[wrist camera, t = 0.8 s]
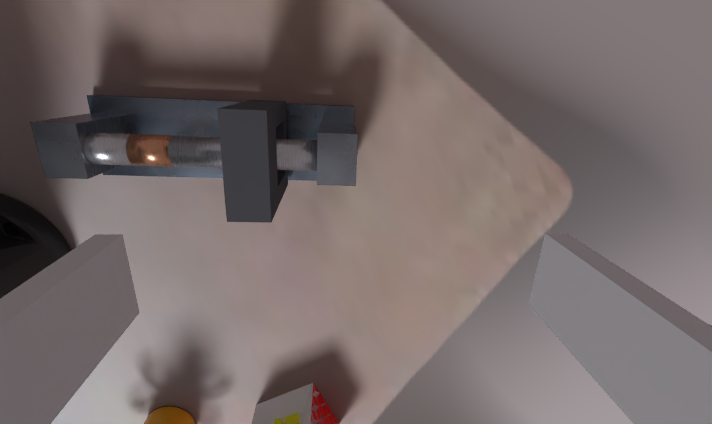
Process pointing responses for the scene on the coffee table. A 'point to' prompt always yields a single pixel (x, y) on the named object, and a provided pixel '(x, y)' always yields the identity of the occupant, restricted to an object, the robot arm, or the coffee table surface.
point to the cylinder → (169, 416)
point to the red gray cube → (295, 408)
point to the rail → (189, 140)
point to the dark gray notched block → (252, 159)
